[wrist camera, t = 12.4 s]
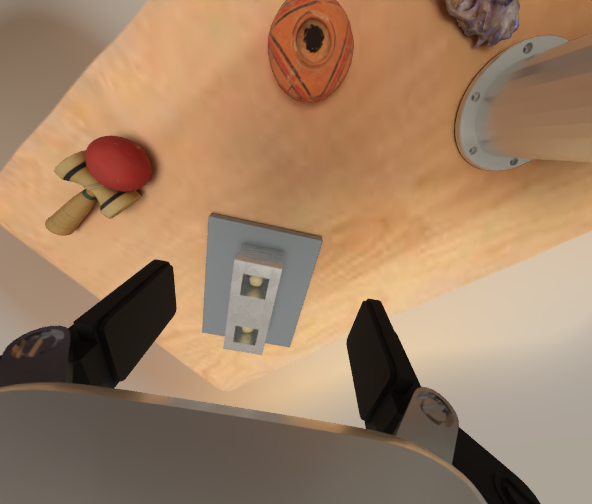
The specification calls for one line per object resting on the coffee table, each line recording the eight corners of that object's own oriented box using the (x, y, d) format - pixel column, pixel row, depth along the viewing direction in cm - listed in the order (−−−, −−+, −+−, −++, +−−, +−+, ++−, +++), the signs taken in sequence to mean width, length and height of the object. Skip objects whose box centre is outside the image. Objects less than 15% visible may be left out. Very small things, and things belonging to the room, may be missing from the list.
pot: (284, -13, 21) (301, -64, 15) (347, 43, 24) (381, 17, 18) (253, 80, 24) (257, 66, 18) (313, 118, 27) (333, 117, 21)
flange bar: (266, 330, 39) (261, 354, 34) (232, 324, 38) (223, 348, 34) (284, 251, 32) (282, 269, 27) (243, 242, 31) (234, 259, 27)
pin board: (321, 237, 32) (325, 251, 28) (289, 340, 42) (289, 364, 37) (212, 213, 31) (197, 224, 26) (205, 326, 40) (193, 348, 36)
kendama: (106, 242, 35) (176, 180, 28) (58, 258, 29) (131, 184, 22) (70, 200, 33) (136, 122, 26) (12, 207, 27) (76, 110, 21)
